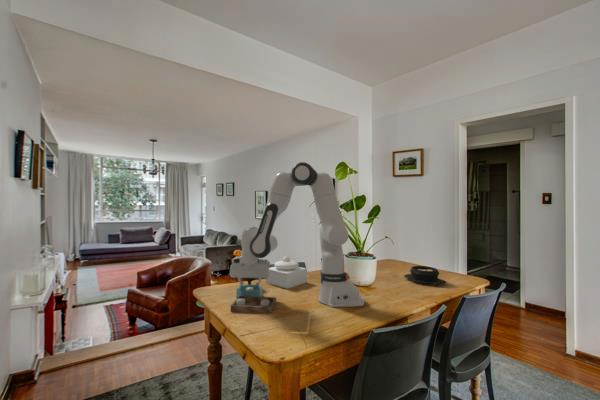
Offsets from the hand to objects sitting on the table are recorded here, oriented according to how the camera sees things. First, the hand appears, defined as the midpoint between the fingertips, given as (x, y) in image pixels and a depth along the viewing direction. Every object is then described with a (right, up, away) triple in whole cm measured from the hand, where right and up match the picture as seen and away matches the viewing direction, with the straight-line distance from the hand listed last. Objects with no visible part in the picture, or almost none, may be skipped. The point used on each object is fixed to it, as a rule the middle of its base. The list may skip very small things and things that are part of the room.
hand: (249, 286), depth 146 cm
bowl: (0, -6, 0) cm, 6 cm away
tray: (+5, -6, -14) cm, 16 cm away
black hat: (+103, -7, +32) cm, 108 cm away
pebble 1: (-1, -5, -17) cm, 18 cm away
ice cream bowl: (-3, -6, +15) cm, 17 cm away
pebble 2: (0, -5, 0) cm, 5 cm away
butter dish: (+17, -7, +27) cm, 33 cm away
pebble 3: (+10, -5, -18) cm, 21 cm away
